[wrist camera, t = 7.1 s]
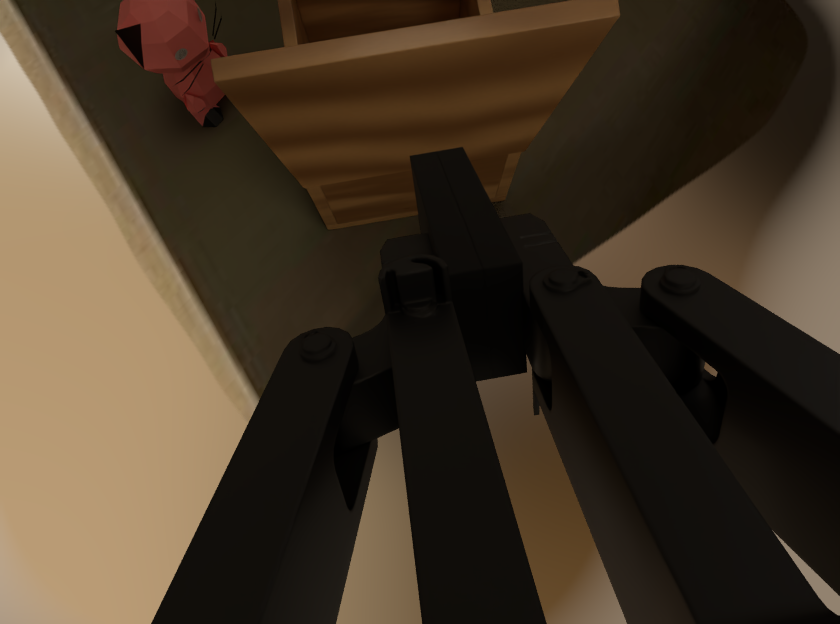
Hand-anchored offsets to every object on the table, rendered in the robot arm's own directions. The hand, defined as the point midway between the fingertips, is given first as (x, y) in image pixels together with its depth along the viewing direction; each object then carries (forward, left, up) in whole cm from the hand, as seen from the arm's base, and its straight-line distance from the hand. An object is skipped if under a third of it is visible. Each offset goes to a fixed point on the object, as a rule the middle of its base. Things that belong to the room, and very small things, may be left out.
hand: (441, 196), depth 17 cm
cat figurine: (+26, -5, -28) cm, 38 cm away
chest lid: (+6, -6, -10) cm, 13 cm away
